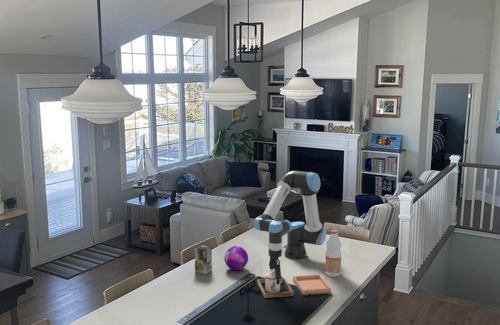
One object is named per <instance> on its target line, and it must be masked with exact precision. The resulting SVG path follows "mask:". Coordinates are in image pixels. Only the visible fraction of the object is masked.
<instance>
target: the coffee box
mask: <svg viewBox="0 0 500 325" xmlns="http://www.w3.org/2000/svg"><path fill="white" fill-rule="evenodd" d="M193 250H194V272H195V273H199V274H205V275H208V274H210V273H211V272H212V269H213V266H212V265H213V264H212V263H213V262H212V261H213V260H212V251H213V250H212V246H210V245H205V244H204V245H203V244H198V245H197V246H196V247H194V249H193Z"/></svg>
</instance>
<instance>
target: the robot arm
mask: <svg viewBox="0 0 500 325" xmlns="http://www.w3.org/2000/svg"><path fill="white" fill-rule="evenodd" d="M320 188H321V179H320V175H319V174H318V173H316V172H312V171H300V170H291V171H288V172H287V173H285V174H284V175H283V176H282V177H281V178H280V179H279V181H278V182H277V184H276V189H275V191H274V193H273V195H272V197H271V198H270V200H269V201H268V204H267V206H266V208H265V210H264V212H263V213H262V215H261V216H258V217H256V218H255V219H254V222H253V228H254V229H255V230H256V231H260V232H265V233H266V232H268V243H267V246H268V256H269V262H268V267H269V272H271V271H272V270H274V271H275V276H276V277H275V289H280V290H281V284H280V279H281V276H282V272H281V261H280V259H279V258H280V257H282V255H283V250H282V249H283V236H285V235H286V238H287V239H286V240H287V241H286V242H287V244H286V247H285V250H284V257H286V258H287V259H293V260H300V259H304V258H307V256H308V255H307V249H306V246H305V244H309V245H315V246H322V245H323V244H324V242H326V238H327V229H326V228H324V227H323V223H321V221H320V216H319V206H318V200H317V193H318V192H319V190H320ZM292 190H299V194H300V195H301V197H302V202H303V208H304V216H305V221H306V222H304V221H293V222H291V221H289V220H288V219H284V220H278V219H277V220H275V218H276V216H277V214H278V213H279V211H280V209H281V207H282V205H283V203H284V201H285V199H286V197H287V196H288V194H289V193H291V191H292Z"/></svg>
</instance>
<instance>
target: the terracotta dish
mask: <svg viewBox="0 0 500 325" xmlns="http://www.w3.org/2000/svg"><path fill="white" fill-rule="evenodd" d="M292 281H293V283H294V285H295V286H296V288H297V290H298V291H299V290H300V291H299V292H300V293H301V295H302V296H310V295H309V294H311V295H321V294H331V293H332V288H331V286H329V284H328V283H327V282H326V281H325V280H324V278H323V277H322V276H321V274H311V275H310V274H308V275H306V274H304V275H294V276H292Z"/></svg>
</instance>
